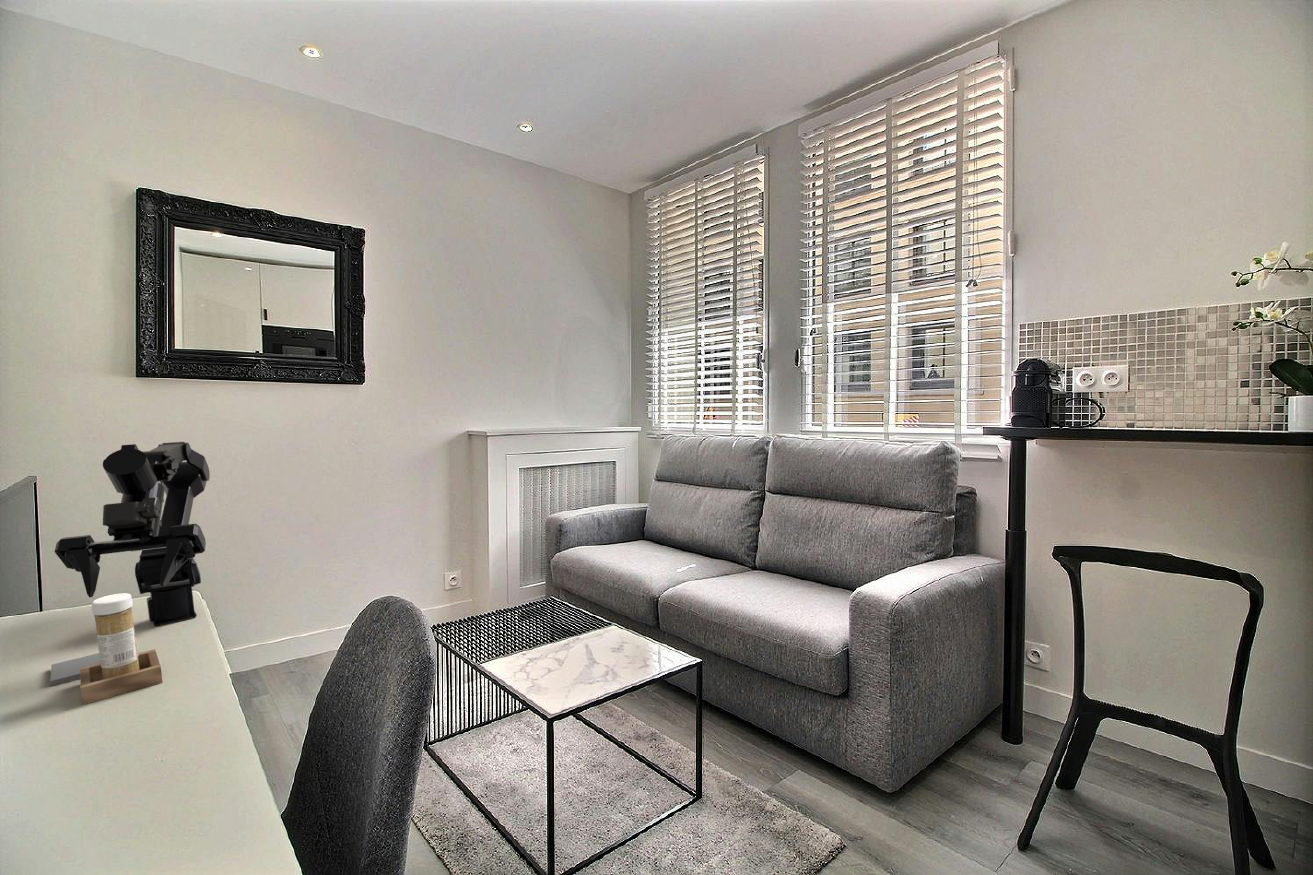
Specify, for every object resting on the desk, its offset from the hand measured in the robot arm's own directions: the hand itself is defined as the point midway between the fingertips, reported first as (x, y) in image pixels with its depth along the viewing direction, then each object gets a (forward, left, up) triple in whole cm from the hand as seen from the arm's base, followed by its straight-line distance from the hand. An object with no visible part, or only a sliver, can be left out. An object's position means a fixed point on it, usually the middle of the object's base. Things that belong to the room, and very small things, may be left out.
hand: (126, 590), depth 101 cm
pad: (+5, -5, -12) cm, 14 cm away
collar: (+2, +6, -12) cm, 14 cm away
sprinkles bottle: (+2, +6, -13) cm, 14 cm away
